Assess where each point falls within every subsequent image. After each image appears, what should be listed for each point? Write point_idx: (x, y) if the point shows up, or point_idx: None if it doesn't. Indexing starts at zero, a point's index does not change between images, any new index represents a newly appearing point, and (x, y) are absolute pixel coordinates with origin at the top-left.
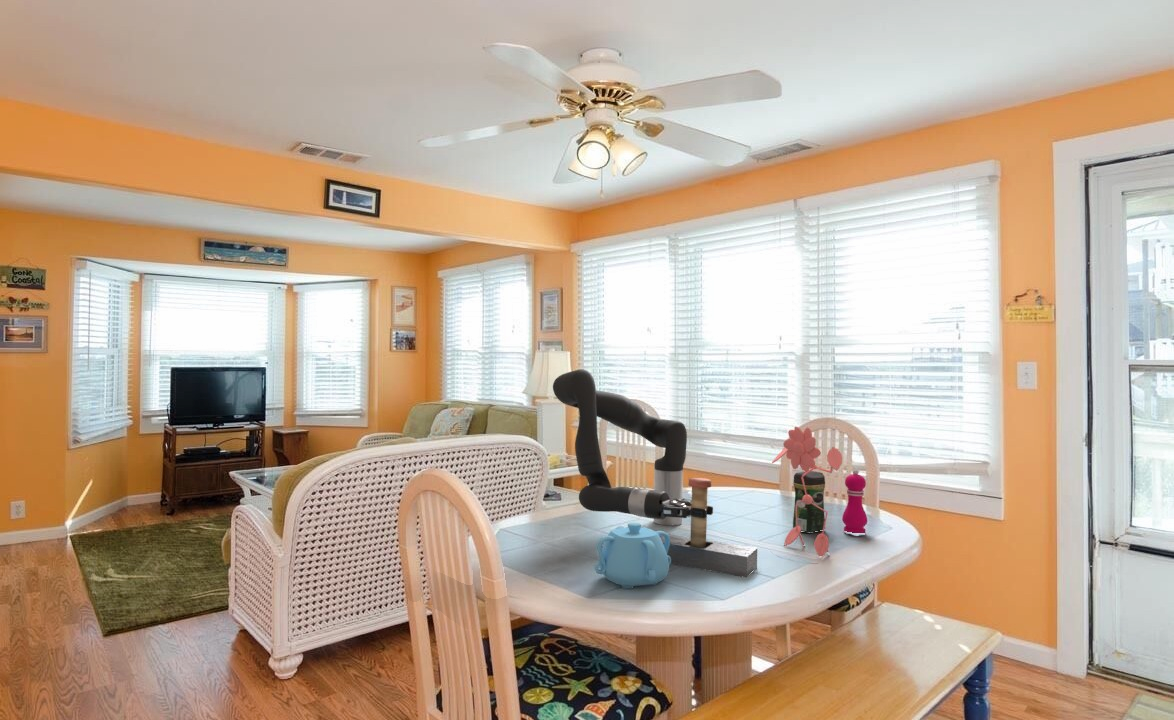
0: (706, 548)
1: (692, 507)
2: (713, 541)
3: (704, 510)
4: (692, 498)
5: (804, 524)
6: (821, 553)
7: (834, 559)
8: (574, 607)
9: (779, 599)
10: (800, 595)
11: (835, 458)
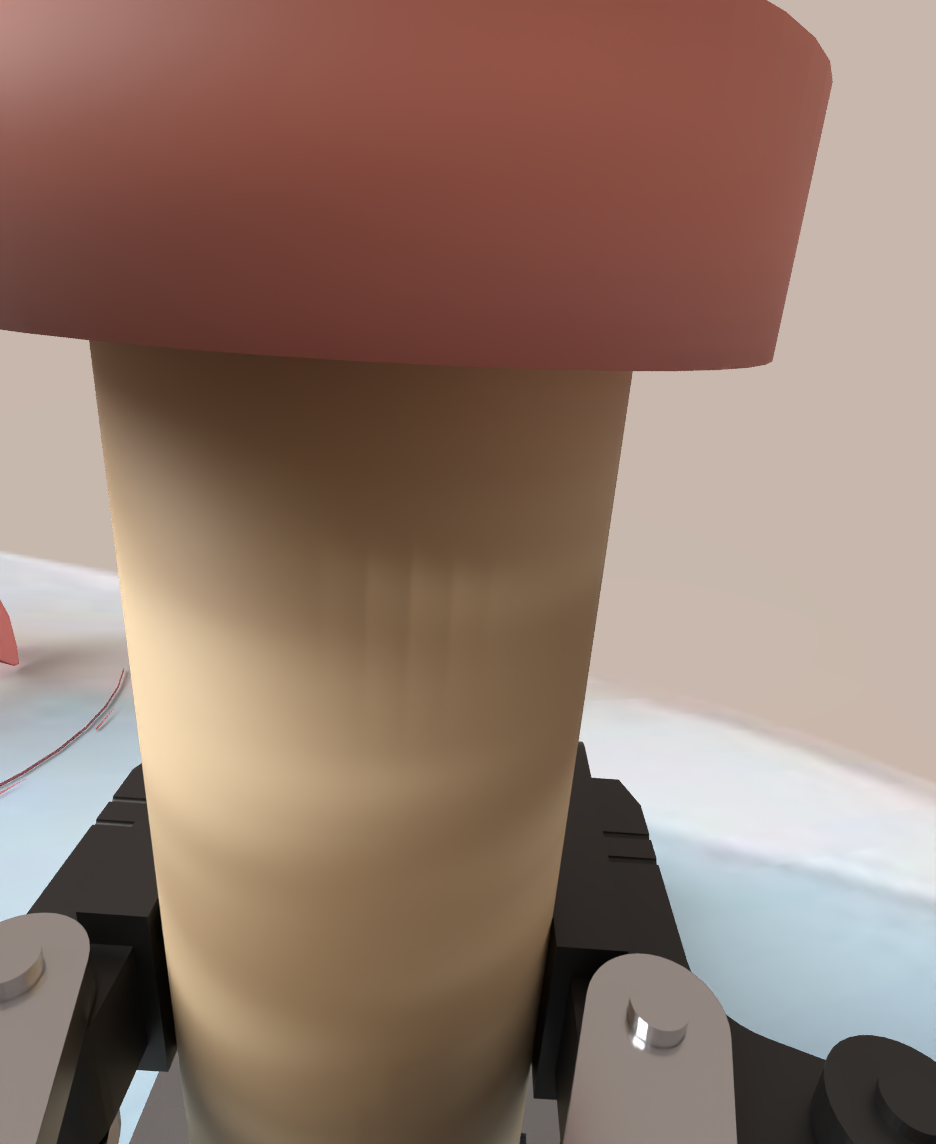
0: (534, 1122)
1: (515, 989)
2: (151, 1135)
3: (584, 757)
4: (536, 787)
5: None
6: (6, 643)
7: (23, 637)
8: None
9: (736, 741)
10: (621, 697)
11: None
